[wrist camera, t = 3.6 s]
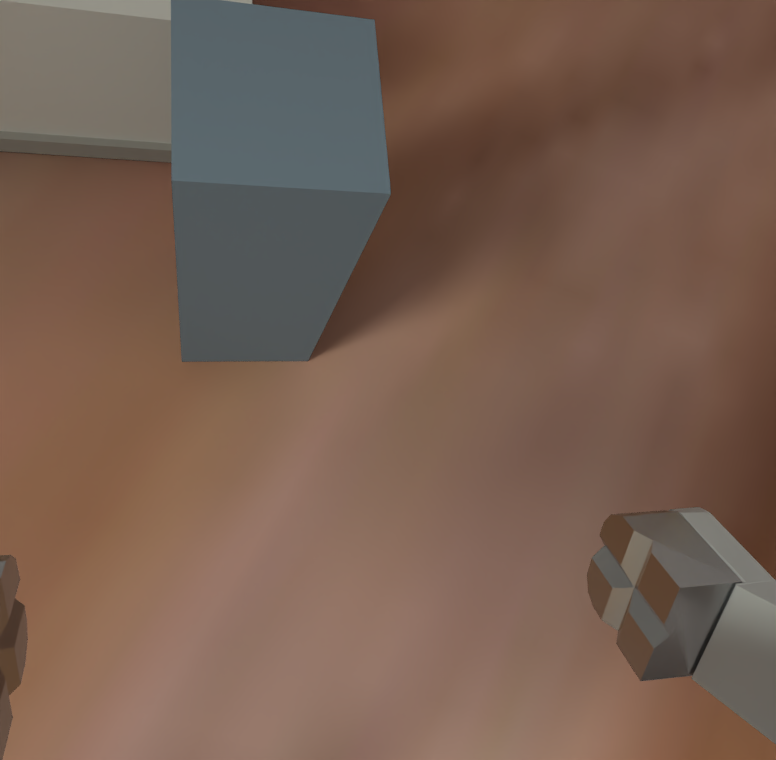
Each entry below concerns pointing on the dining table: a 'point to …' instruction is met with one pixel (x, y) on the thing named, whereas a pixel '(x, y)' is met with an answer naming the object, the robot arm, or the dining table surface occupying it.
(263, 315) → the grey tall block
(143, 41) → the riser
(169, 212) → the dining table surface
